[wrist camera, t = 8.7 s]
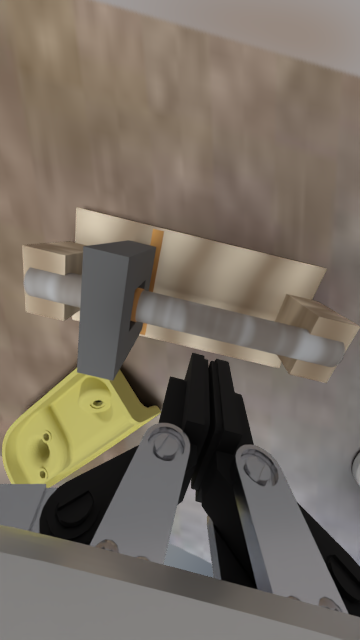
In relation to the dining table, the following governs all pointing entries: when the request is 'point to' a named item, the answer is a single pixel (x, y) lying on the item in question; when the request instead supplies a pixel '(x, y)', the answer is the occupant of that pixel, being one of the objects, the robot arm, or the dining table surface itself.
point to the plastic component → (71, 428)
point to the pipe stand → (202, 296)
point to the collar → (110, 304)
